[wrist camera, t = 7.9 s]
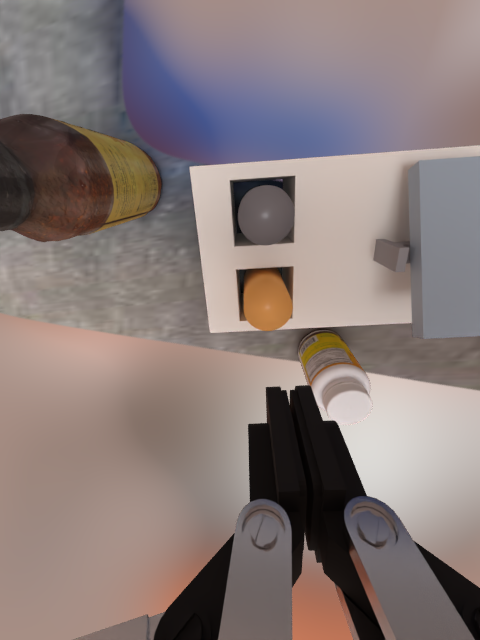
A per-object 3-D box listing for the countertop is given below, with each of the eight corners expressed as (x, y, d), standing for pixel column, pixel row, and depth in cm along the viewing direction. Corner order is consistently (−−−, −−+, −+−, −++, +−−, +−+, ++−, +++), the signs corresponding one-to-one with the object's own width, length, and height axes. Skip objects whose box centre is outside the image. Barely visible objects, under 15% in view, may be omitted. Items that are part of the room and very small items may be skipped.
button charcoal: (280, 184, 23) (295, 182, 17) (280, 229, 25) (294, 243, 18) (238, 187, 24) (236, 187, 17) (241, 231, 25) (239, 247, 18)
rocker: (477, 172, 19) (508, 153, 17) (479, 331, 19) (510, 334, 17) (394, 178, 19) (414, 160, 17) (398, 335, 20) (418, 338, 17)
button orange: (280, 259, 26) (293, 284, 19) (280, 295, 28) (292, 329, 21) (242, 262, 26) (242, 287, 20) (244, 297, 28) (245, 331, 21)
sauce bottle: (130, 126, 24) (-213, -64, 6) (178, 191, 26) (30, 194, 8) (80, 176, 26) (-304, 144, 8) (129, 233, 28) (-83, 312, 10)
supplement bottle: (340, 367, 34) (376, 432, 25) (295, 367, 34) (314, 432, 25) (346, 327, 32) (388, 383, 23) (298, 327, 32) (320, 383, 23)
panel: (472, 152, 24) (617, 129, 15) (436, 291, 30) (526, 339, 20) (203, 172, 25) (178, 162, 16) (217, 303, 31) (205, 354, 21)
